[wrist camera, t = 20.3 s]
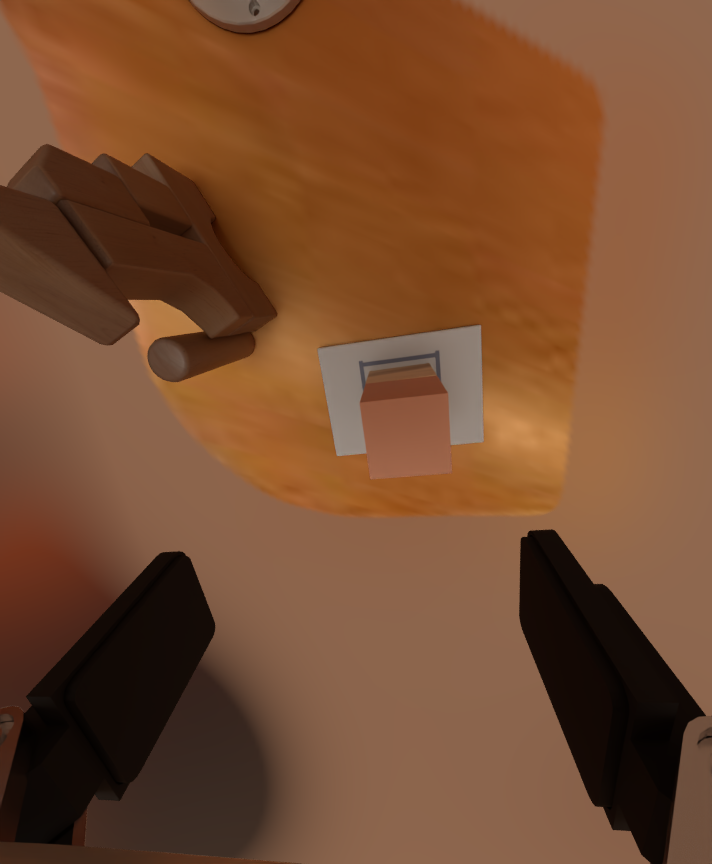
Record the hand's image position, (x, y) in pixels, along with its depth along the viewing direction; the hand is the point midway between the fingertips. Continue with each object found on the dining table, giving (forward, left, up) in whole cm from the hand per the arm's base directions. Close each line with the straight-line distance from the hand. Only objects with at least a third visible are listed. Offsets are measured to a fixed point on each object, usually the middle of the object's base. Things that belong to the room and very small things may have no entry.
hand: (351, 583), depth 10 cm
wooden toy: (-12, -15, -29) cm, 34 cm away
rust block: (+2, +2, -21) cm, 21 cm away
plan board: (+2, +2, -28) cm, 28 cm away
